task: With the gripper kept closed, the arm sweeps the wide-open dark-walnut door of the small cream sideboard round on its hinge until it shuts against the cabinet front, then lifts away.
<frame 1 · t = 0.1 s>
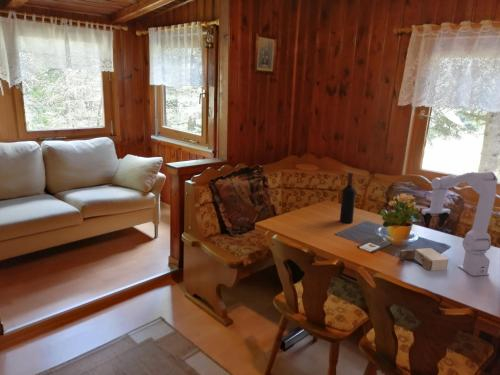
hand: (433, 226, 188), 10 cm above the table, fingers open, 7 cm apart
cabinet: (430, 263, 170), on the table
door: (407, 254, 173), point 3 cm above the table, hinge at 88.0°
wine bottle: (346, 221, 223), on the table
chocolate bar: (374, 246, 189), on the table
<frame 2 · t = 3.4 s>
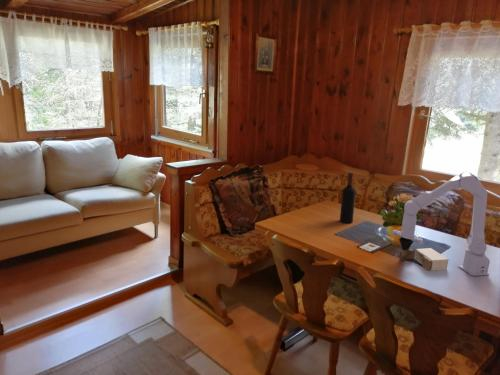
hand: (404, 252, 175), 2 cm above the table, fingers closed, pressing on door
door: (407, 254, 173), point 3 cm above the table, hinge at 88.0°, touching gripper
everything else where it was.
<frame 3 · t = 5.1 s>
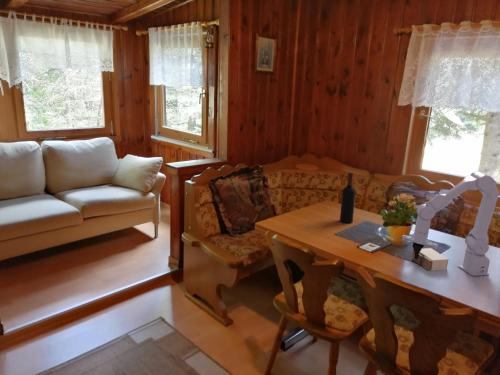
hand: (416, 258, 168), 3 cm above the table, fingers closed, pressing on door
door: (417, 257, 170), point 3 cm above the table, hinge at 8.4°, touching cabinet, gripper
everything else where it was.
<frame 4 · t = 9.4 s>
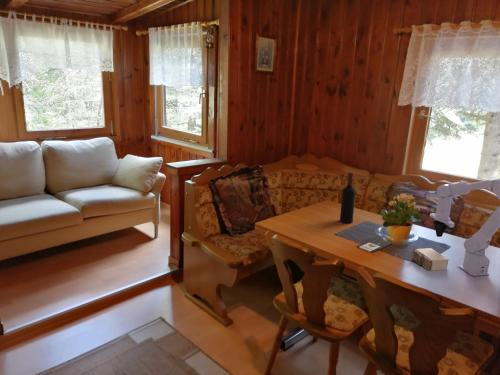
hand: (439, 236, 176), 10 cm above the table, fingers closed
door: (417, 257, 170), point 3 cm above the table, hinge at 8.4°, touching cabinet
everything else where it was.
at the end: door at +8° (first picture: +88°) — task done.
